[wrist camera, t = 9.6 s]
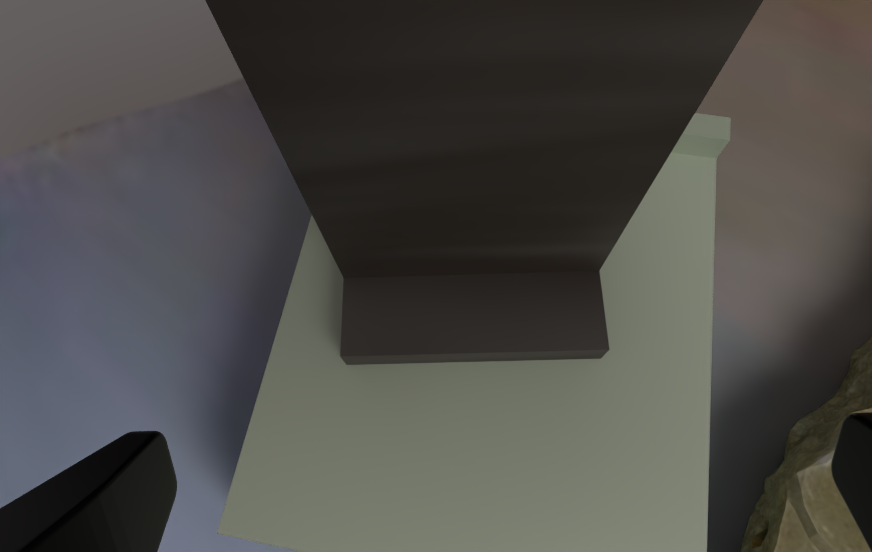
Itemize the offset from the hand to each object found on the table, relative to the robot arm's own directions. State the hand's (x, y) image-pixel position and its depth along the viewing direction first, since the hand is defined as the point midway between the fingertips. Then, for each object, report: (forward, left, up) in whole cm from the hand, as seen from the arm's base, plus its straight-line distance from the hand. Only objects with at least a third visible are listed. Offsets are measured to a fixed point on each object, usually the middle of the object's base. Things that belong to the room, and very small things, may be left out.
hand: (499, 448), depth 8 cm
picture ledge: (+4, 0, -11) cm, 12 cm away
